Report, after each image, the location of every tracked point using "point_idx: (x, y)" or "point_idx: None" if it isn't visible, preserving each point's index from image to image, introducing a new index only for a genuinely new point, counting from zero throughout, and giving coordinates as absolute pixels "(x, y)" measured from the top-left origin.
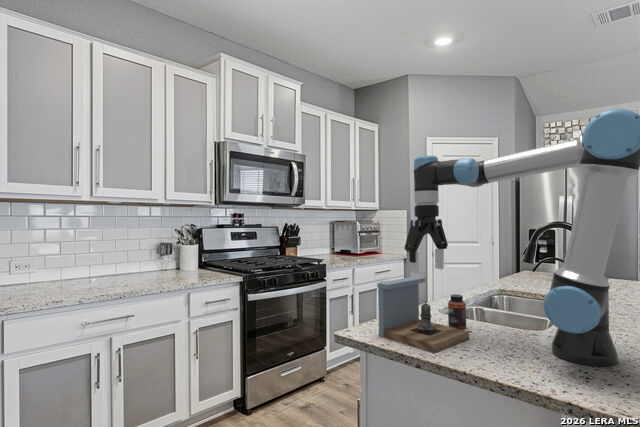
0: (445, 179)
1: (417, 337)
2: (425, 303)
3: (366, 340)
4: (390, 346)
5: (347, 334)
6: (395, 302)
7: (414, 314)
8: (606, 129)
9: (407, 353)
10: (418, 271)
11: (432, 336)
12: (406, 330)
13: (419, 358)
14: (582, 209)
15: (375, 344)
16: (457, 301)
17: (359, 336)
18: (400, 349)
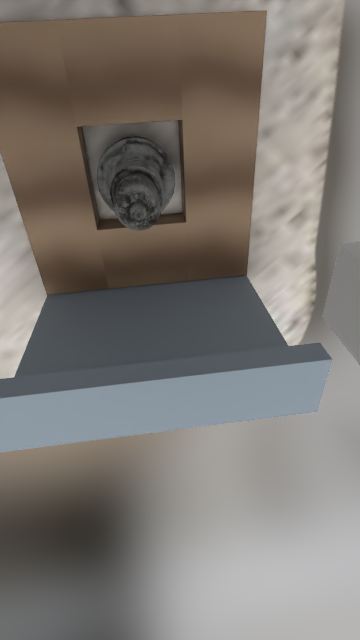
0: None
1: (235, 136)
2: (141, 212)
3: (295, 273)
4: (295, 190)
5: (286, 335)
6: (196, 332)
7: (71, 305)
8: None
9: (320, 98)
10: (356, 250)
11: (178, 102)
12: (194, 226)
13: (341, 21)
14: None
15: (309, 232)
16: None
17: (279, 308)
18: (300, 146)
